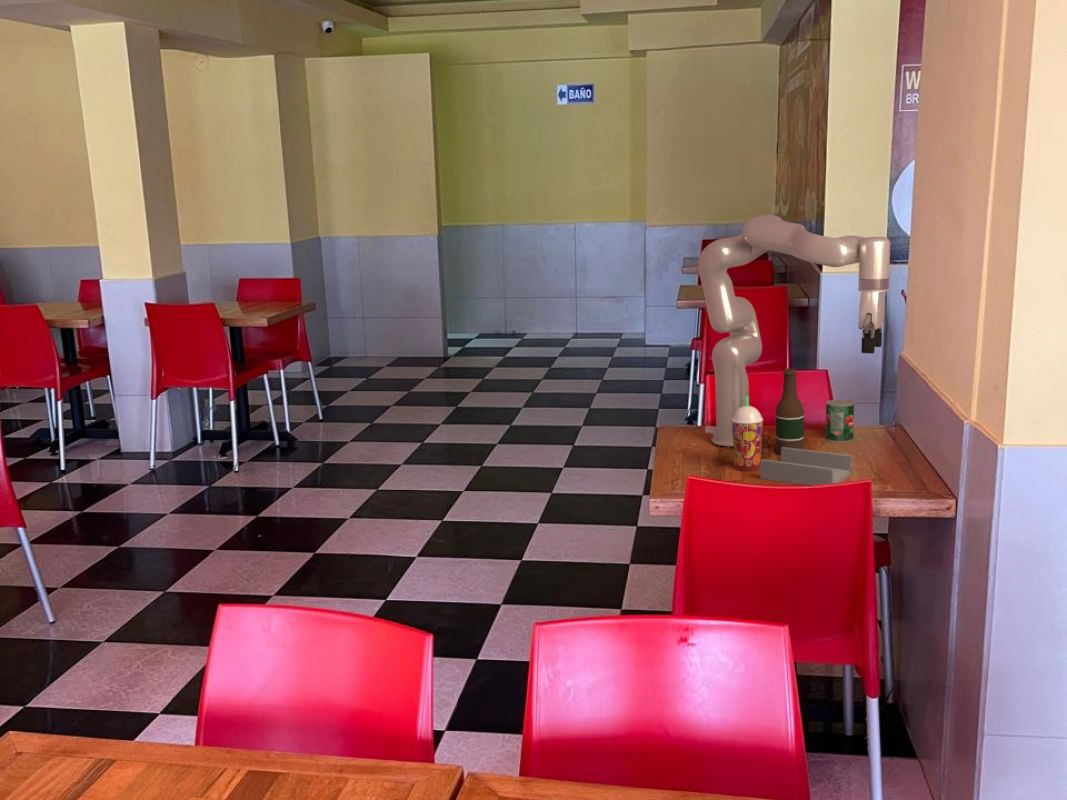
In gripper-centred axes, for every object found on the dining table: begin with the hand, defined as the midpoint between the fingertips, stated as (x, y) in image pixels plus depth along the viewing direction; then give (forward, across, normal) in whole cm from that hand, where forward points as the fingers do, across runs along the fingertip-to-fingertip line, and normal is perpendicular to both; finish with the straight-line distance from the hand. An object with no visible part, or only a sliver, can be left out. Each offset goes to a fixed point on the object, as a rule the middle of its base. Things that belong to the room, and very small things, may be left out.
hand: (871, 349), depth 266 cm
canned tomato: (+31, -21, -12) cm, 39 cm away
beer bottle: (+31, -2, -22) cm, 38 cm away
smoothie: (+31, +16, -28) cm, 45 cm away
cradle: (+31, +19, -12) cm, 38 cm away
